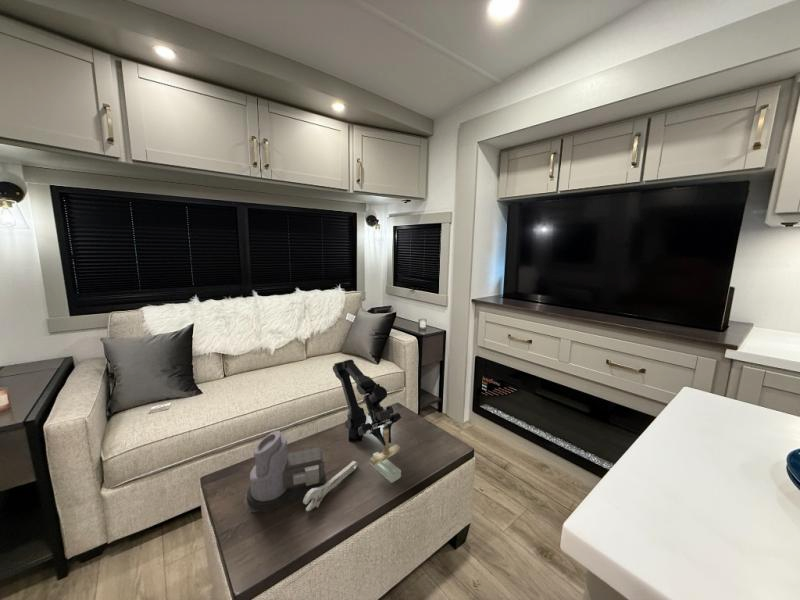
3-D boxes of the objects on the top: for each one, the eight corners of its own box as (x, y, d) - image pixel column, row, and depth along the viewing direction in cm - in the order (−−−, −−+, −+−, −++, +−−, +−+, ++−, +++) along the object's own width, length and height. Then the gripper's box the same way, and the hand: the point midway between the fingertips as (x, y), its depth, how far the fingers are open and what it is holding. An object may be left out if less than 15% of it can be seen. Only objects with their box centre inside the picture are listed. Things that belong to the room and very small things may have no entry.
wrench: (357, 473, 134) (305, 519, 107) (353, 471, 135) (301, 516, 108) (358, 455, 133) (306, 497, 107) (355, 453, 134) (302, 494, 107)
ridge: (370, 464, 135) (370, 455, 134) (379, 459, 138) (379, 450, 137) (391, 483, 125) (391, 473, 124) (400, 477, 128) (401, 467, 127)
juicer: (240, 518, 108) (235, 455, 103) (246, 484, 123) (241, 428, 118) (329, 495, 118) (327, 437, 114) (324, 467, 133) (322, 414, 128)
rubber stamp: (374, 466, 125) (374, 438, 122) (370, 463, 126) (370, 435, 124) (399, 450, 134) (400, 424, 132) (396, 448, 136) (396, 422, 133)
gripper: (361, 407, 124) (375, 447, 117) (399, 395, 134) (414, 431, 127) (352, 416, 131) (364, 454, 125) (389, 404, 142) (402, 438, 135)
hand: (387, 444), depth 128 cm, fingers closed on rubber stamp, 2 cm apart
